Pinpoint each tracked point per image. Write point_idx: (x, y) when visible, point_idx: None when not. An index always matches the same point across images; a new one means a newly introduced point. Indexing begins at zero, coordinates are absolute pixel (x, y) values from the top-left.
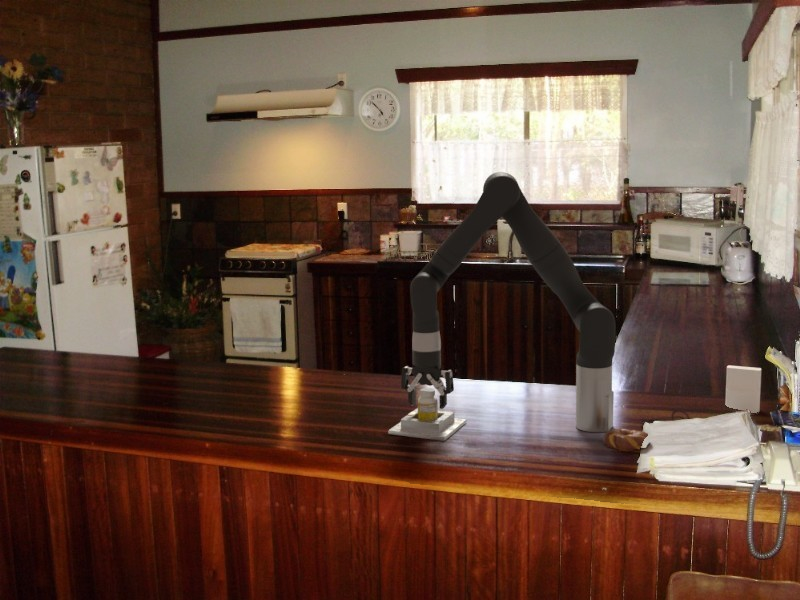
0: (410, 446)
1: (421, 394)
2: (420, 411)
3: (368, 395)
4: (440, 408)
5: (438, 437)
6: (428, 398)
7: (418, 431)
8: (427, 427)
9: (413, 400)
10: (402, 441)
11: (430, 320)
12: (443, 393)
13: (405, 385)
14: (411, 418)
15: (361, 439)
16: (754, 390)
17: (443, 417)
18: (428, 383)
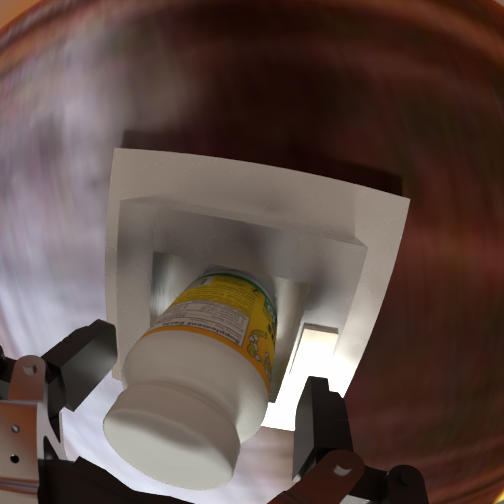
0: (252, 45)
1: (207, 413)
2: (243, 315)
3: (434, 491)
4: (111, 324)
5: (142, 150)
6: (154, 377)
7: (250, 200)
8: (195, 208)
9: (305, 406)
10: (309, 97)
11: None
12: (23, 362)
13: (387, 497)
14: (304, 279)
15: (478, 120)
16: None
17: (132, 313)
18: (92, 483)
